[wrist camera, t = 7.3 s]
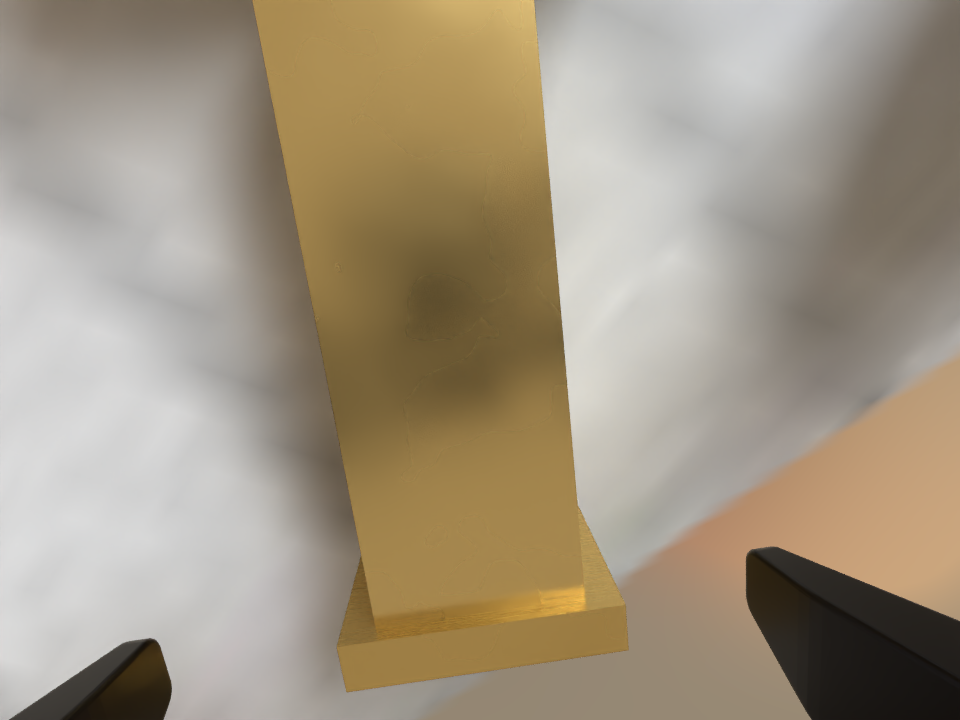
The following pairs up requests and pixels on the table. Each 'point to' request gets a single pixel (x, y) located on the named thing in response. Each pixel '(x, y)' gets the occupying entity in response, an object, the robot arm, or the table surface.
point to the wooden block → (439, 331)
